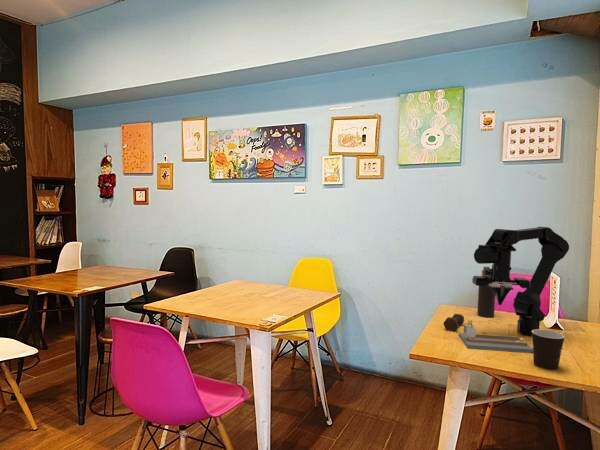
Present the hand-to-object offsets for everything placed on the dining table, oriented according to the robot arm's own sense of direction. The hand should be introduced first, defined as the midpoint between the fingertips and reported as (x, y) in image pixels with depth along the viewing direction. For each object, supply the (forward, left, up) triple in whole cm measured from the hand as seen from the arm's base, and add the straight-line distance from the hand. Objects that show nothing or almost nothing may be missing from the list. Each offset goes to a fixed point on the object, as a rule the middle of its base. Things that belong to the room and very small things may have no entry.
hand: (499, 304), depth 151 cm
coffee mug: (-7, +25, -12) cm, 29 cm away
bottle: (-4, -29, -12) cm, 32 cm away
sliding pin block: (+12, +9, -11) cm, 19 cm away
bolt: (+13, -9, -12) cm, 20 cm away
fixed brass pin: (-5, +9, -11) cm, 15 cm away
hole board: (+4, +9, -12) cm, 16 cm away
